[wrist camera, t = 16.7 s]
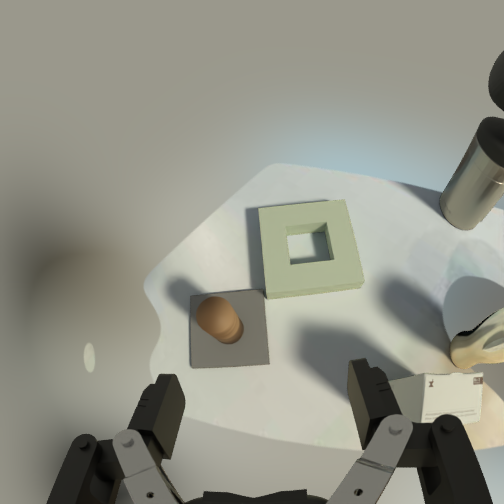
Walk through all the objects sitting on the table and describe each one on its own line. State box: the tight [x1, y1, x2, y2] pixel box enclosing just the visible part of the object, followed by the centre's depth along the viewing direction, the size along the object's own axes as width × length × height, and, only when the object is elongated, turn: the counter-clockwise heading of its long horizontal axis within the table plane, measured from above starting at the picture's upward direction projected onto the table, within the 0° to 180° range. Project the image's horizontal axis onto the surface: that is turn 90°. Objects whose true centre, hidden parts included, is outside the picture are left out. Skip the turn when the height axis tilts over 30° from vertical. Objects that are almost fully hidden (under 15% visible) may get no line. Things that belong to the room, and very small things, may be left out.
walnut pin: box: [196, 296, 244, 344], centre depth 38 cm, size 4×4×9 cm
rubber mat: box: [190, 289, 270, 368], centre depth 43 cm, size 11×11×1 cm
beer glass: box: [450, 308, 504, 369], centre depth 30 cm, size 7×7×15 cm
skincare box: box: [388, 372, 483, 425], centre depth 28 cm, size 8×6×15 cm
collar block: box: [258, 199, 365, 299], centre depth 46 cm, size 14×14×3 cm
